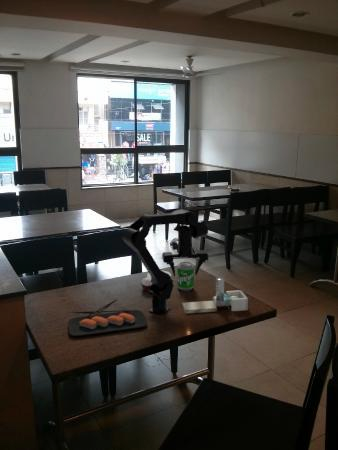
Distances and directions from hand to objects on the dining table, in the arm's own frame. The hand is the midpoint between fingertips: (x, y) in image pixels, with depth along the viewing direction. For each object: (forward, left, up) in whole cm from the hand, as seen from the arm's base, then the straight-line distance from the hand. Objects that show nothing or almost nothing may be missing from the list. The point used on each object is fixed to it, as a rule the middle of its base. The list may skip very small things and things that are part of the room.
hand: (185, 275), depth 172 cm
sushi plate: (-26, +23, -13) cm, 37 cm away
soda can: (+14, +6, -12) cm, 20 cm away
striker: (+2, -15, -10) cm, 19 cm away
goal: (+5, -21, -12) cm, 24 cm away
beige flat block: (-3, -8, -12) cm, 15 cm away
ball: (+5, -20, -10) cm, 23 cm away
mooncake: (+18, +22, -13) cm, 31 cm away
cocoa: (+4, +20, -12) cm, 24 cm away
